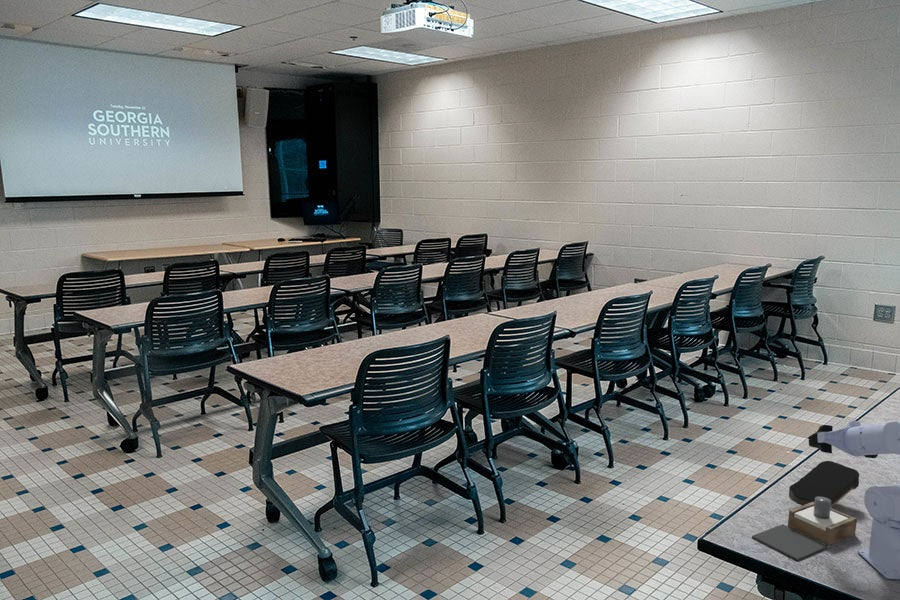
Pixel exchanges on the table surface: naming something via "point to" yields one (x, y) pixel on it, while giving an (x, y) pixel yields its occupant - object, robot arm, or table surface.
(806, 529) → the walnut case
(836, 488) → the black sponge
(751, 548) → the table surface
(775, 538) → the rubber mat
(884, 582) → the table surface
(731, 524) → the table surface
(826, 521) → the cover plate
